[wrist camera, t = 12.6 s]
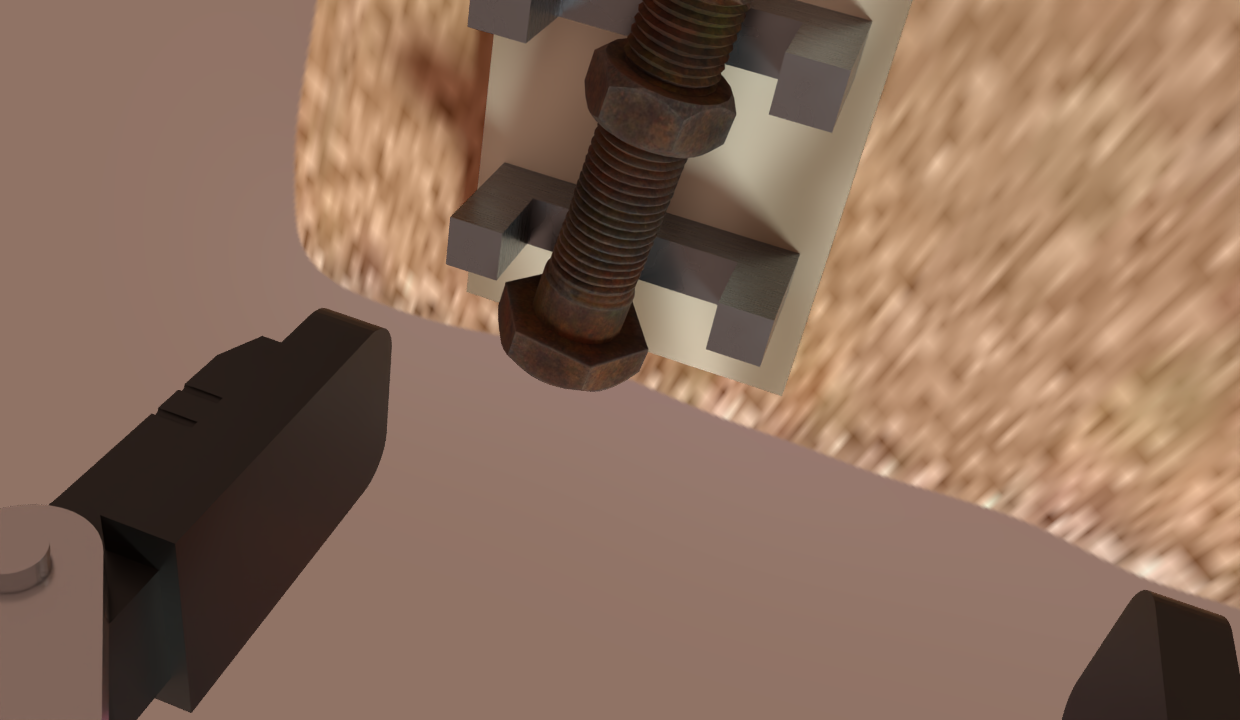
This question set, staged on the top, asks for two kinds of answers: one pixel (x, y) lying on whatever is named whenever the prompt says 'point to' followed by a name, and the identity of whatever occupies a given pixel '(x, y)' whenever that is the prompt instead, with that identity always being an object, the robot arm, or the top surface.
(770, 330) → the grey notched cradle
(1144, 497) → the top surface
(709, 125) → the bolt
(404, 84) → the top surface
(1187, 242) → the top surface
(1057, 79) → the top surface
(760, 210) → the collar board
